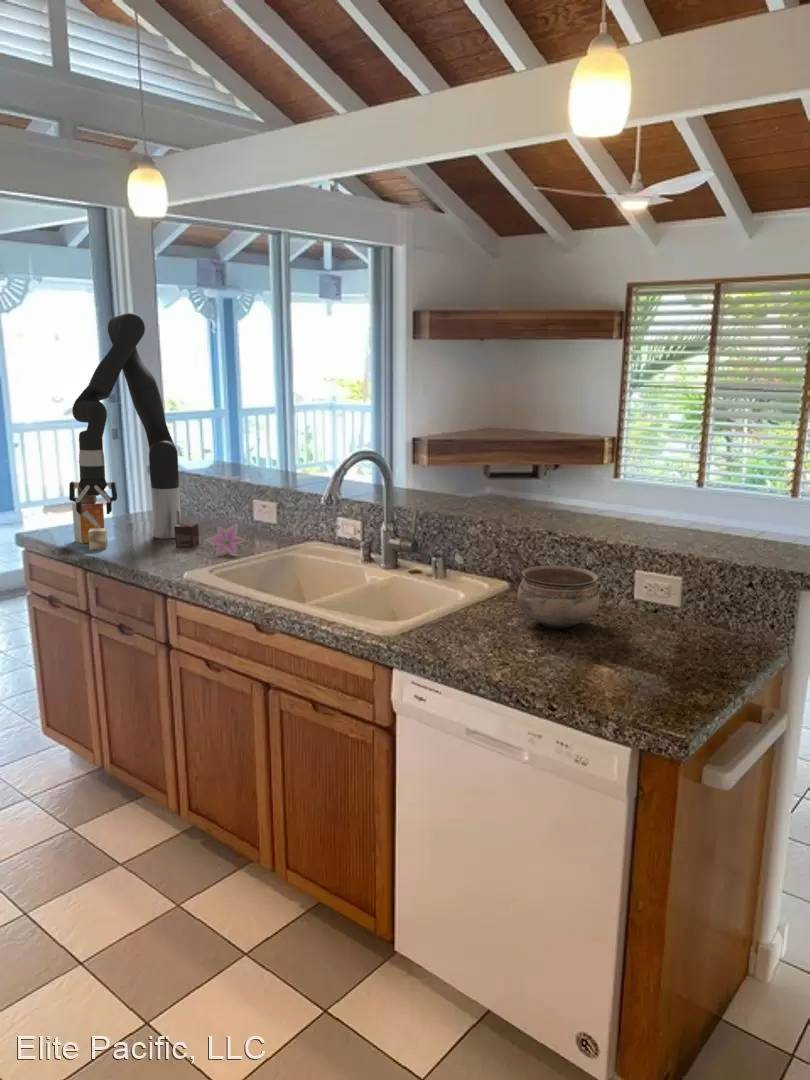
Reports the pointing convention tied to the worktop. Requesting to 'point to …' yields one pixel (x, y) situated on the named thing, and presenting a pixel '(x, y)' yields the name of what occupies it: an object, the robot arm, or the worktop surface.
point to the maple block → (98, 538)
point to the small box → (87, 520)
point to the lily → (226, 540)
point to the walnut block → (87, 497)
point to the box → (186, 535)
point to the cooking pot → (558, 595)
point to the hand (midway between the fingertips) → (94, 513)
